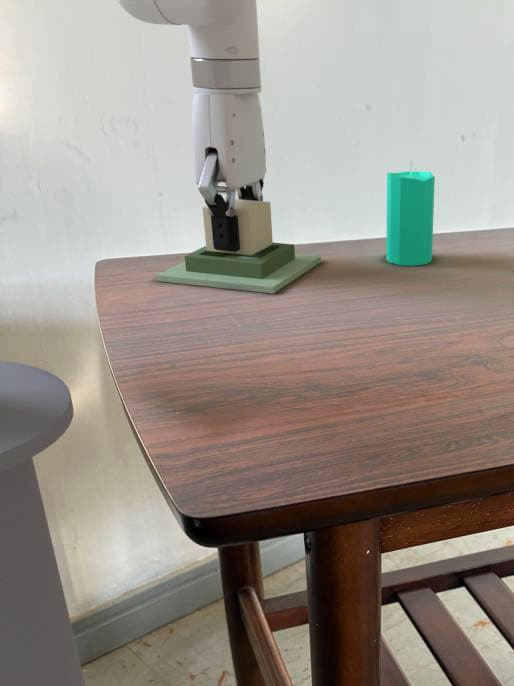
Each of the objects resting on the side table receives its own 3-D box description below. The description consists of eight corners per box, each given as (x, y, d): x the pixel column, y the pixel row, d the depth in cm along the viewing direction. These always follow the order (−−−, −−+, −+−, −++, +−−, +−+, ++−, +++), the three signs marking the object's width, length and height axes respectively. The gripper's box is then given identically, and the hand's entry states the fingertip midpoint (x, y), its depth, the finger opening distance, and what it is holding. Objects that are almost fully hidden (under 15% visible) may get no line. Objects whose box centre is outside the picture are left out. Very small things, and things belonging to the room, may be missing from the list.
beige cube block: (252, 255, 103) (249, 211, 101) (206, 250, 105) (202, 207, 102) (272, 244, 108) (270, 201, 106) (228, 240, 110) (225, 198, 107)
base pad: (273, 293, 100) (272, 271, 99) (157, 281, 104) (154, 259, 102) (321, 262, 112) (320, 241, 111) (215, 252, 116) (213, 231, 115)
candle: (387, 265, 112) (388, 164, 105) (385, 253, 117) (385, 157, 110) (434, 265, 112) (438, 165, 106) (429, 253, 117) (432, 157, 111)
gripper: (230, 71, 105) (242, 227, 114) (156, 80, 91) (176, 257, 100) (288, 73, 103) (295, 232, 112) (221, 84, 89) (236, 263, 98)
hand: (239, 242), depth 106 cm, fingers closed on beige cube block, 5 cm apart
